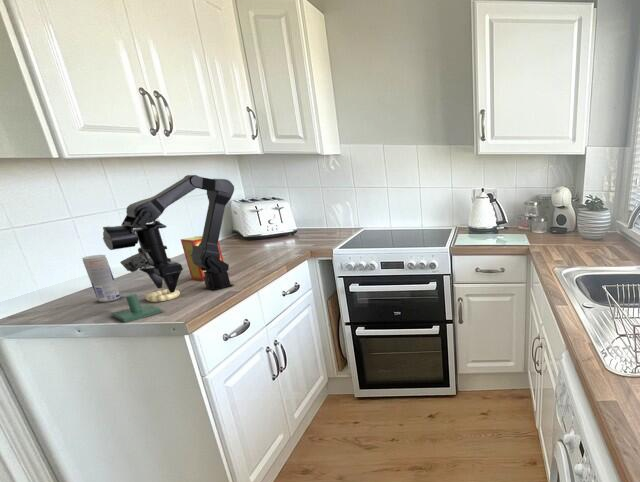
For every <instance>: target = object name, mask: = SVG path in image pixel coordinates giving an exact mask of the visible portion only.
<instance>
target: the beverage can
mask: <svg viewBox="0 0 640 482" xmlns="http://www.w3.org/2000/svg"><path fill="white" fill-rule="evenodd" d="M81 260H82V263H83V266H84V267H85V271H86V273H87V276H88V279H89V282H90V284H91V286H92V289H93V292H94V294H95V297H96V300H97V302H100V303H108V302H109V303H110V302H112V301H117V300H119V299H120V298H121V294H120V291H119V289H118V286H117V283H116V280H115V277H114V275H113V272H112V270H111V267H110V264H109V261H108V258H107V257H106V255H105V254H94V255H87V256H83V257H81Z"/></svg>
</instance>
